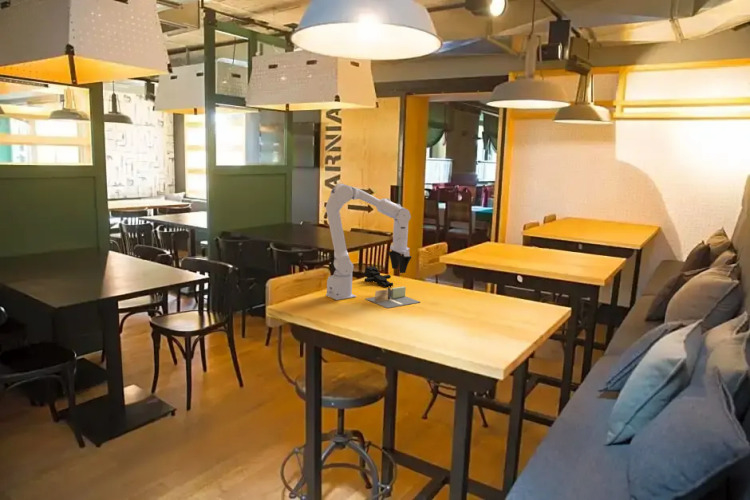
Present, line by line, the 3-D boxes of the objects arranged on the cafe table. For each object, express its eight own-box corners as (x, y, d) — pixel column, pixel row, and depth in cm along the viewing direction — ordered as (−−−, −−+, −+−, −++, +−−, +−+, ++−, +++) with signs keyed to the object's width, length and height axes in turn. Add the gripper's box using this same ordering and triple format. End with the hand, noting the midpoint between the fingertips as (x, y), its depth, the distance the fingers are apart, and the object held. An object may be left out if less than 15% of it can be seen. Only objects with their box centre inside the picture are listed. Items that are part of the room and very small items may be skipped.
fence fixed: (376, 302, 208) (377, 290, 207) (374, 301, 209) (375, 289, 208) (390, 299, 212) (391, 288, 211) (388, 299, 213) (389, 287, 212)
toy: (378, 283, 226) (357, 268, 236) (375, 295, 228) (354, 279, 238) (402, 279, 235) (381, 265, 245) (399, 290, 237) (378, 276, 247)
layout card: (387, 308, 200) (387, 307, 200) (365, 299, 211) (365, 298, 211) (420, 302, 210) (420, 301, 210) (397, 294, 221) (397, 293, 221)
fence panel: (391, 298, 212) (391, 289, 211) (389, 297, 213) (390, 288, 212) (405, 296, 216) (405, 287, 215) (403, 295, 217) (404, 286, 216)
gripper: (417, 240, 211) (415, 274, 213) (402, 234, 224) (400, 266, 226) (400, 240, 208) (398, 275, 211) (386, 234, 221) (384, 267, 224)
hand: (398, 270), depth 218 cm, fingers open, 7 cm apart
